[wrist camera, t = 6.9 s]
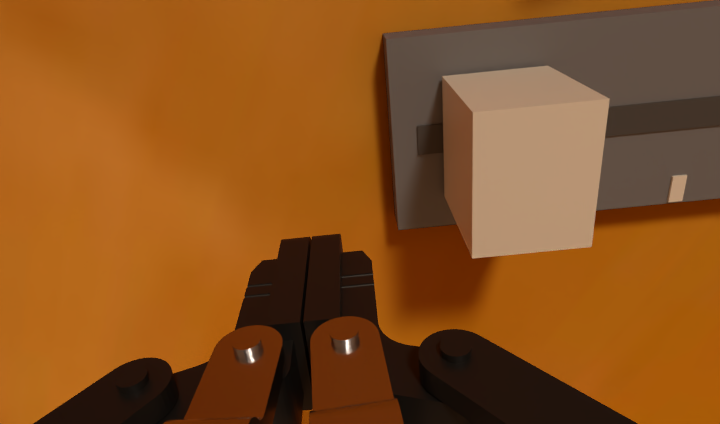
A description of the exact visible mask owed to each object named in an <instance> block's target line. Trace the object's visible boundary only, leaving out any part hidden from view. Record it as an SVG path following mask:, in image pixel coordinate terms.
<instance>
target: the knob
mask: <svg viewBox="0 0 720 424" xmlns="http://www.w3.org/2000/svg"><path fill="white" fill-rule="evenodd" d="M442 100H443V149H444V196H445V199H446V201H447V203H448V205H449V208H450V210H451V212H452V214H453V217H454V219H455V221H456V223H457V226H458V228H459V230H460V232H461V235H462V237H463V239H464V241H465V244H466V246H467V248H468V250H469V253H470V255H471V257H472V259H473V258H483V257H493V256H503V255H513V254H523V253H534V252H544V251H554V250H564V249H574V248H584V247H592V239H593V231H594V223H595V215H596V206H597V198H598V190H599V182H600V174H601V166H602V157H603V149H604V141H605V133H606V125H607V117H608V109H609V100H610V99H609V98H607V97H605V96H604V95H602V94H600V93H598V92H596V91H594V90H592V89H591V88H589V87H587V86H585V85H583V84H581V83H579V82H578V81H576V80H574V79H572V78H570V77H568V76H566V75H565V74H563V73H561V72H559V71H557V70H555V69H553V68H551V67H550V66H538V67H528V68H518V69H508V70H498V71H488V72H478V73H468V74H458V75H448V76H442Z"/></svg>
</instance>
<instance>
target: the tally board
mask: <svg viewBox="0 0 720 424" xmlns="http://www.w3.org/2000/svg"><path fill="white" fill-rule="evenodd" d="M383 45H384V59H385V74H386V89H387V104H388V118H389V133H390V148H391V163H392V177H393V192H394V207H395V217H396V221H397V226H398V230H404V229H414V228H424V227H434V226H444V225H455V224H457V223H456V221H455V219H454V217H453V214H452V212H451V210H450V208H449V205H448V203H447V201H446V199H445V196H444V149H443V100H442V76H448V75H458V74H468V73H478V72H488V71H498V70H508V69H518V68H528V67H538V66H550V67H551V68H553V69H555V70H557V71H559V72H561V73H563V74H565V75H566V76H568V77H570V78H572V79H574V80H576V81H578V82H579V83H581V84H583V85H585V86H587V87H589V88H591V89H592V90H594V91H596V92H598V93H600V94H602V95H604V96H605V97H607V98H609V99H610V100H609V109H608V117H607V125H606V133H605V141H604V149H603V157H602V166H601V174H600V182H599V190H598V198H597V206H596V210H606V209H616V208H627V207H637V206H647V205H657V204H667V203H677V202H687V201H697V200H708V199H718V198H720V0H713V1H703V2H693V3H683V4H673V5H663V6H653V7H643V8H633V9H623V10H614V11H604V12H594V13H584V14H574V15H564V16H554V17H544V18H534V19H524V20H514V21H504V22H494V23H484V24H474V25H464V26H454V27H444V28H434V29H424V30H414V31H404V32H394V33H384V34H383Z"/></svg>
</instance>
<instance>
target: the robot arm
mask: <svg viewBox="0 0 720 424" xmlns="http://www.w3.org/2000/svg"><path fill="white" fill-rule="evenodd" d="M312 409H313V411H310V413H309V424H637V423H636V422H634V421H632V420H630V419H628V418H627V417H625V416H623V415H621V414H619V413H618V412H616V411H614V410H612V409H610V408H609V407H607V406H605V405H603V404H601V403H600V402H598V401H596V400H594V399H592V398H591V397H589V396H587V395H585V394H584V393H582V392H580V391H578V390H576V389H575V388H573V387H571V386H569V385H567V384H566V383H564V382H562V381H560V380H558V379H557V378H555V377H553V376H551V375H549V374H548V373H546V372H544V371H542V370H540V369H539V368H537V367H535V366H533V365H531V364H530V363H528V362H526V361H524V360H522V359H521V358H519V357H517V356H515V355H514V354H512V353H510V352H508V351H506V350H505V349H503V348H501V347H499V346H497V345H496V344H494V343H492V342H490V341H488V340H487V339H485V338H483V337H481V336H479V335H477V334H475V333H473V332H470V331H465V330H458V329H450V330H443V331H439V332H436V333H434V334H432V335H430V336H428V337H427V338H426V339H425V340H424V341H423V342H422V343H421V345H420V347H418V346H410V345H405V344H401V343H398V342H396V341H393V340H391V339H390V338H388V337H387V336H386V335H385V334H383V332H382V331H381V330H380V328H379V325H378V318H377V308H376V299H375V289H374V280H373V270H372V261H371V259H370V258H369V257H368V256H367V255H366V254H365V253H364V252H363V251H354V252H344V253H343V249H342V241H341V235H340V234H333V235H323V236H313V237H312V240H311V238H310V237H304V238H293V239H283V240H281V244H280V248H279V253H278V258H277V259H274V260H263V261H262V262H261V263H260V264H259V265H258V266H257V267H256V268H255V269H254V270H253V271H252V272H251V275H250V278H249V282H248V288H247V289H246V292H245V298H244V299H243V303H242V306H241V310H240V313H239V317H238V321H237V324H236V328H235V330H234V331H232V332H230V333H229V334H227V335H226V336H224V337H223V338H222V339H221V340H220V341H219V342H218V343H217V345H216V346H215V348H214V350H213V353H212V355H211V357H210V359H209V361H208V362H206V363H204V364H201V365H198V366H196V367H193V368H189V369H186V370H183V371H180V372H177V373H174V374H173V373H172V370H171V367H170V365H169V364H168V363H167V362H166V361H164V360H162V359H158V358H142V359H137V360H134V361H131V362H128V363H125V364H123V365H121V366H119V367H118V368H116V369H114V370H113V371H111V372H110V373H108V374H107V375H105V376H104V377H102V378H101V379H99V380H98V381H96V382H95V383H93V384H92V385H90V386H89V387H87V388H86V389H84V390H83V391H81V392H80V393H78V394H77V395H75V396H74V397H72V398H71V399H70V400H68V401H67V402H65V403H64V404H62V405H61V406H59V407H58V408H56V409H55V410H53V411H52V412H50V413H49V414H47V415H46V416H44V417H43V418H41V419H40V420H38V421H37V422H35V423H34V424H301V422H302V410H312Z"/></svg>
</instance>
